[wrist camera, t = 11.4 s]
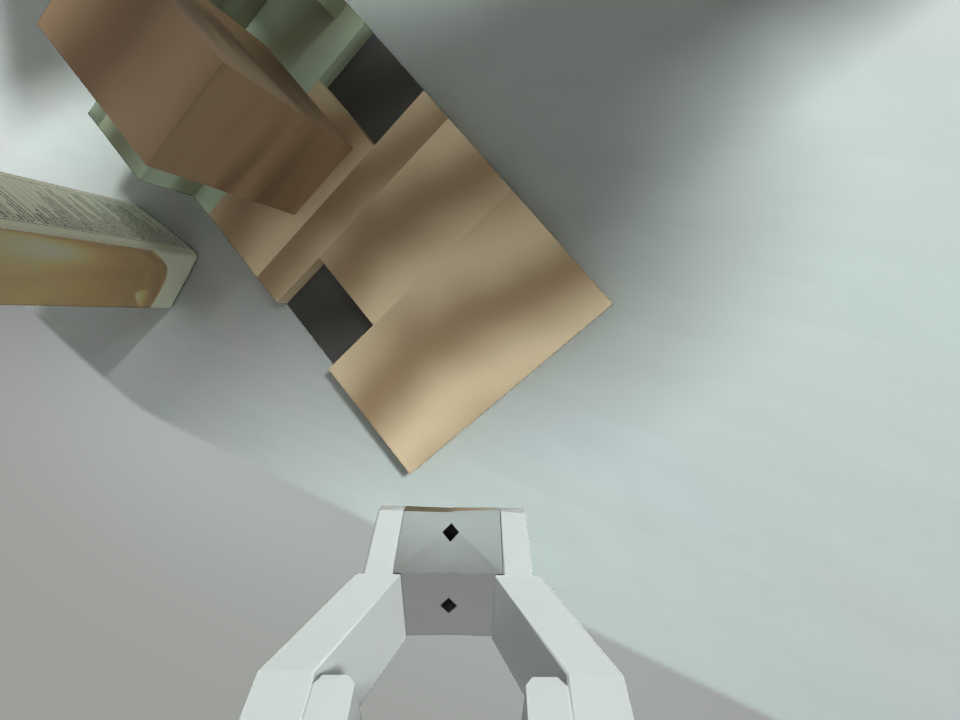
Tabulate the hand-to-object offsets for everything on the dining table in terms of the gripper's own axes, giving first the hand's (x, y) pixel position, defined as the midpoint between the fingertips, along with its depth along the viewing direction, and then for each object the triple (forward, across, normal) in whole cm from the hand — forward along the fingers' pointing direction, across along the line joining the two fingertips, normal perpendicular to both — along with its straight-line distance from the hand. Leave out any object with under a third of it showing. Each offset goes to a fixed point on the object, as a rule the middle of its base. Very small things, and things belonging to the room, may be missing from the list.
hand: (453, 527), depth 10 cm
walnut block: (+23, +11, -6) cm, 26 cm away
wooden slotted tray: (+21, +6, -2) cm, 22 cm away
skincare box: (+24, +20, +2) cm, 31 cm away
